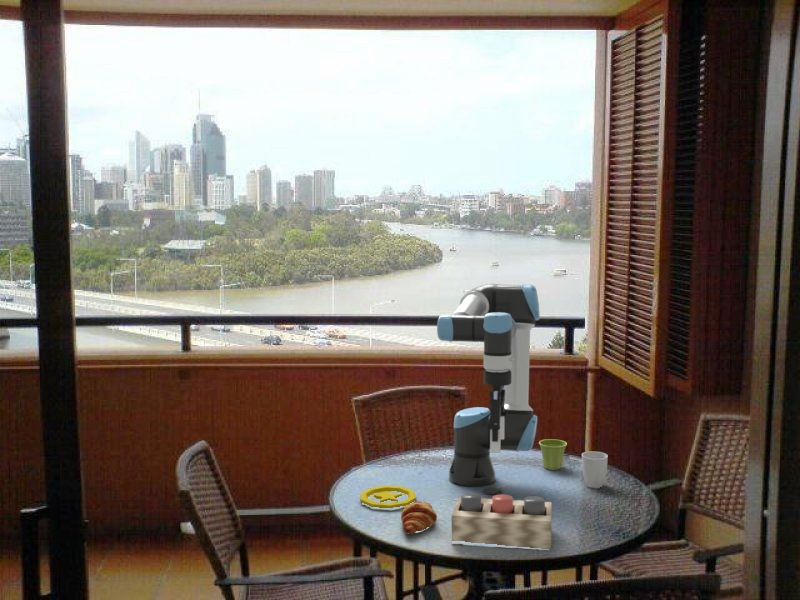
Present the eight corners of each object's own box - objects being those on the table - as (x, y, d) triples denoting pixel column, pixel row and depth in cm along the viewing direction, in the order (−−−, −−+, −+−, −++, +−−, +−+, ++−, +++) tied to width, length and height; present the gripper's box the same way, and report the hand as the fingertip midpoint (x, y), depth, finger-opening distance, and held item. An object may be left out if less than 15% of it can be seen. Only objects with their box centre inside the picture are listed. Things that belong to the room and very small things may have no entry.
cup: (605, 481, 266) (605, 451, 265) (609, 490, 258) (609, 459, 257) (579, 481, 267) (580, 451, 266) (582, 489, 259) (583, 458, 258)
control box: (451, 544, 218) (451, 515, 217) (457, 524, 232) (457, 497, 231) (550, 551, 214) (551, 521, 213) (551, 530, 227) (551, 502, 226)
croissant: (418, 521, 244) (406, 497, 244) (448, 508, 241) (435, 484, 241) (399, 549, 223) (386, 522, 224) (431, 535, 221) (417, 508, 221)
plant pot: (538, 462, 286) (538, 438, 285) (565, 463, 285) (566, 439, 284) (539, 471, 277) (539, 446, 276) (567, 472, 276) (567, 447, 275)
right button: (523, 521, 218) (523, 502, 218) (524, 513, 224) (524, 495, 223) (544, 522, 217) (544, 504, 217) (544, 514, 223) (545, 496, 222)
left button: (459, 517, 222) (459, 499, 221) (462, 509, 227) (462, 492, 226) (480, 518, 221) (480, 500, 220) (482, 510, 226) (482, 493, 225)
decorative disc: (410, 513, 242) (410, 506, 242) (353, 509, 246) (352, 502, 246) (421, 493, 258) (421, 487, 258) (367, 490, 262) (367, 484, 262)
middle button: (491, 519, 220) (491, 501, 219) (493, 511, 225) (493, 494, 225) (512, 520, 219) (512, 502, 218) (513, 512, 224) (513, 495, 224)
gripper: (508, 379, 211) (507, 459, 213) (514, 361, 235) (514, 434, 237) (479, 378, 212) (479, 458, 214) (488, 361, 237) (488, 433, 239)
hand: (497, 445), depth 226 cm, fingers open, 13 cm apart
